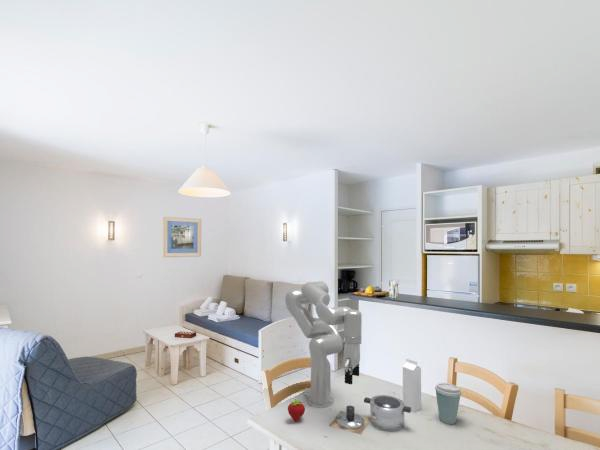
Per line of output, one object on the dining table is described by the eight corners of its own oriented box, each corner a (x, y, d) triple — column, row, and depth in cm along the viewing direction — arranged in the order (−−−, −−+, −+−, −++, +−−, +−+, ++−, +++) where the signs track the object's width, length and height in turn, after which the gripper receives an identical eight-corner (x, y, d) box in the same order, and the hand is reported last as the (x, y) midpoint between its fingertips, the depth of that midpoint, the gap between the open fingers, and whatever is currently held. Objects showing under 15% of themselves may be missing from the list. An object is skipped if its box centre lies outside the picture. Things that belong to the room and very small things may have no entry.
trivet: (328, 426, 142) (328, 425, 142) (340, 412, 154) (340, 410, 154) (361, 435, 135) (361, 434, 135) (371, 419, 147) (370, 418, 147)
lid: (332, 424, 142) (332, 410, 142) (342, 412, 153) (342, 398, 153) (359, 432, 136) (359, 417, 137) (368, 418, 147) (368, 404, 147)
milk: (413, 412, 154) (413, 363, 155) (402, 407, 159) (402, 359, 160) (421, 408, 158) (421, 360, 159) (410, 403, 163) (410, 357, 164)
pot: (359, 425, 143) (359, 403, 143) (369, 411, 155) (369, 391, 155) (407, 438, 133) (407, 415, 134) (413, 422, 146) (413, 400, 146)
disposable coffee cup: (434, 412, 154) (434, 379, 155) (460, 416, 151) (460, 382, 152) (435, 424, 144) (435, 388, 145) (463, 429, 141) (463, 392, 142)
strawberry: (305, 425, 143) (305, 401, 143) (287, 425, 142) (287, 401, 143) (304, 418, 148) (304, 394, 149) (287, 418, 148) (287, 394, 149)
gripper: (350, 333, 156) (350, 370, 155) (337, 343, 140) (336, 385, 140) (366, 335, 152) (366, 374, 152) (354, 346, 137) (354, 389, 136)
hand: (352, 379), depth 146 cm, fingers open, 9 cm apart
